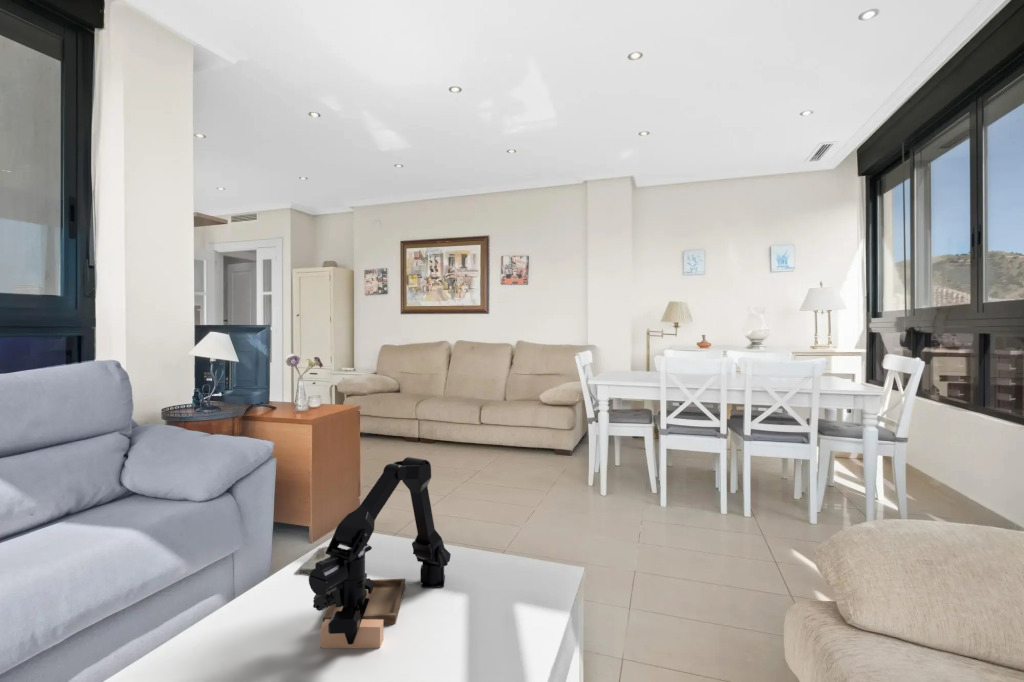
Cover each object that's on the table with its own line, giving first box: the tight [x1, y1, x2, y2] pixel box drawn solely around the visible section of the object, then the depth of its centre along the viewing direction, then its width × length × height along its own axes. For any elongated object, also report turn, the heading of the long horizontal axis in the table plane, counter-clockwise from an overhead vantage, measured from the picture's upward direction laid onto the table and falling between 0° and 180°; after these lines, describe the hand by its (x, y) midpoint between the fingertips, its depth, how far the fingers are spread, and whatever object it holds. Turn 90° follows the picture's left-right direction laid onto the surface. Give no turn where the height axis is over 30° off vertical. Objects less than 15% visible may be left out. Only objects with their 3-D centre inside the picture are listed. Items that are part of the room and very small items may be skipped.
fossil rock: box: [298, 546, 348, 575], centre depth 155 cm, size 18×15×2 cm
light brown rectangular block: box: [320, 619, 384, 649], centre depth 116 cm, size 14×3×5 cm, turn 90°
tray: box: [322, 578, 406, 626], centre depth 132 cm, size 18×18×2 cm
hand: (352, 639), depth 116 cm, fingers closed on light brown rectangular block, 3 cm apart
